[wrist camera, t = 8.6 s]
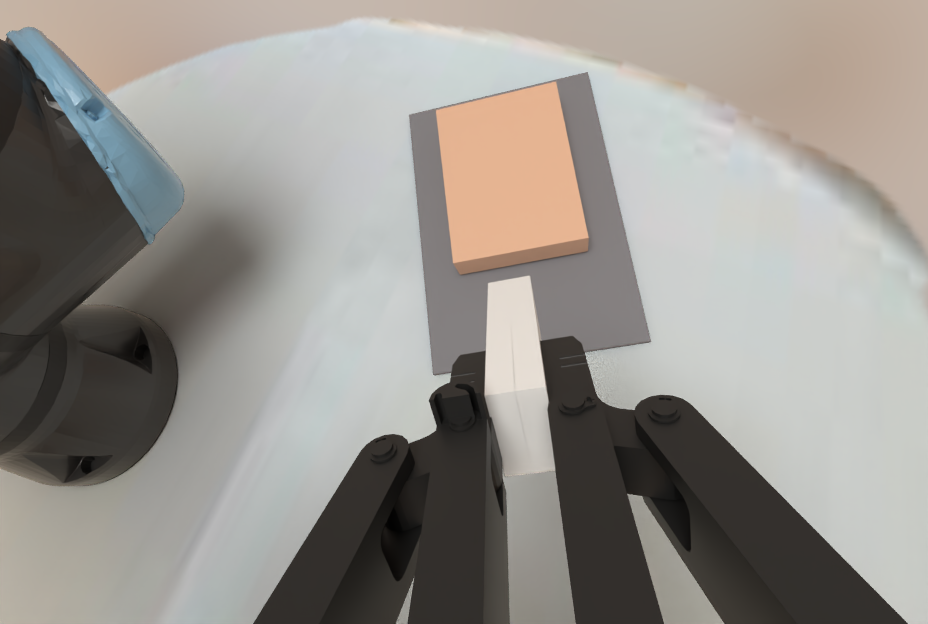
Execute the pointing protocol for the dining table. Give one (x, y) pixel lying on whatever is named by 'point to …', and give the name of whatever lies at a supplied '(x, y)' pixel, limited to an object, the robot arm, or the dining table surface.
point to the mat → (553, 280)
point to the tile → (510, 180)
